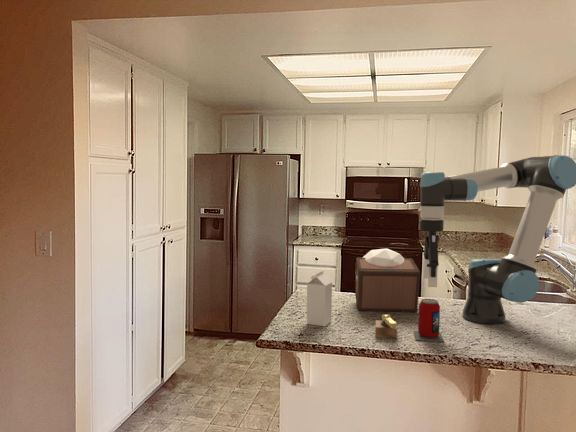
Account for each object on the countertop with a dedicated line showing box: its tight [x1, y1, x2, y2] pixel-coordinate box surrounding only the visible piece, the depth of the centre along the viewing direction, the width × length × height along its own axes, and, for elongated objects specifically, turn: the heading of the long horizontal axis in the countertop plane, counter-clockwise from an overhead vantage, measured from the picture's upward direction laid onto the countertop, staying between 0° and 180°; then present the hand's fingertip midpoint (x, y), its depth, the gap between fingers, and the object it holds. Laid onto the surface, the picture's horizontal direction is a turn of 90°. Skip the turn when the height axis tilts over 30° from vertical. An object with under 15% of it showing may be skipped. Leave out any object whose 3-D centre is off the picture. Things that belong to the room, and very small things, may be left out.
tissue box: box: [354, 248, 421, 313], centre depth 198 cm, size 24×28×24 cm
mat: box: [413, 330, 445, 344], centre depth 156 cm, size 9×9×1 cm
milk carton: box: [306, 270, 333, 327], centre depth 171 cm, size 7×7×19 cm
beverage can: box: [417, 298, 441, 338], centre depth 156 cm, size 7×7×12 cm
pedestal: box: [374, 319, 398, 340], centre depth 159 cm, size 7×8×4 cm
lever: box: [381, 313, 397, 328], centre depth 155 cm, size 9×3×2 cm, turn 5°
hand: (430, 282), depth 155 cm, fingers open, 13 cm apart
